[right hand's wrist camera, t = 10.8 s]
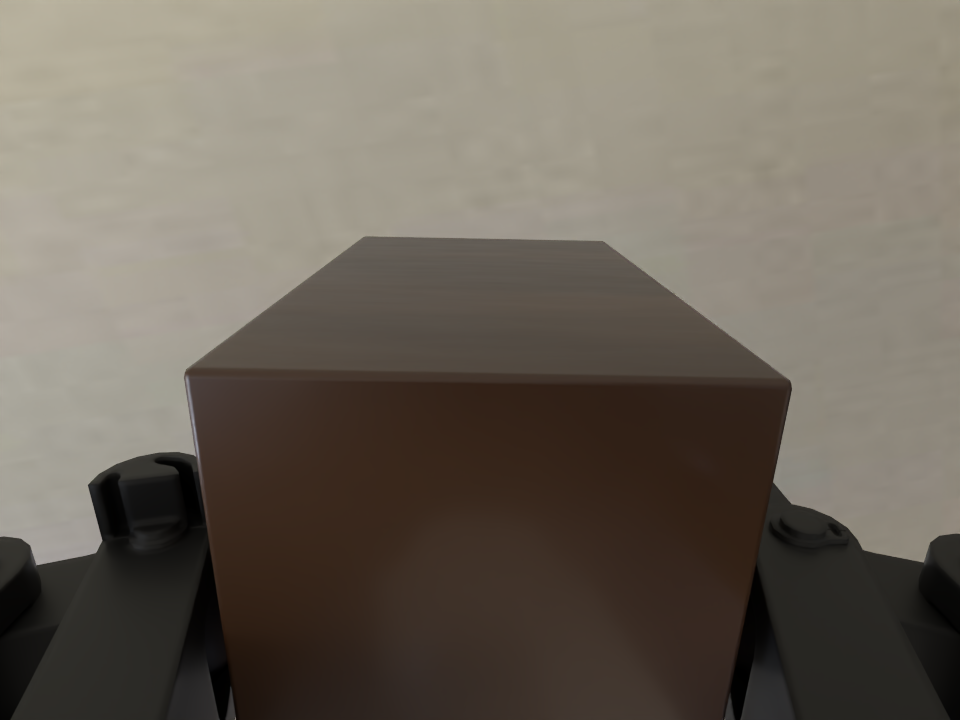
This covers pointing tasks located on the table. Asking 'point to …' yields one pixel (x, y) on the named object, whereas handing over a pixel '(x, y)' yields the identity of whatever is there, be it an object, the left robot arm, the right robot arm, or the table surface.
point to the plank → (483, 489)
